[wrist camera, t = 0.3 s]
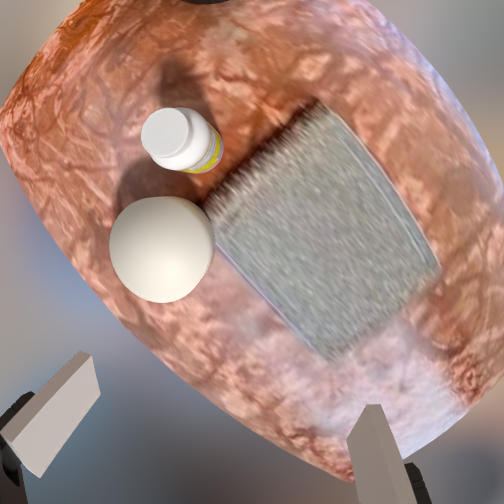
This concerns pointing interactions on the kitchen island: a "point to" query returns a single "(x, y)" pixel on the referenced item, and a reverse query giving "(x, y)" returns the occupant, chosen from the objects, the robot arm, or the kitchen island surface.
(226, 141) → the kitchen island surface
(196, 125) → the supplement bottle
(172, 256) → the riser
